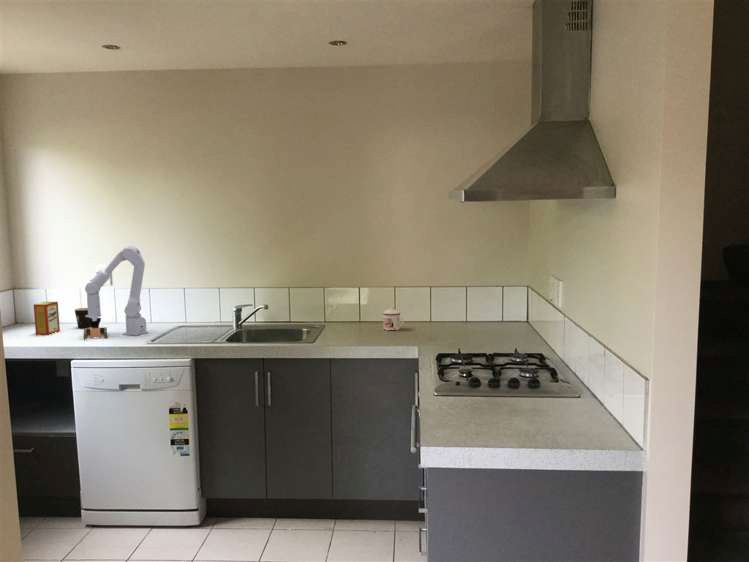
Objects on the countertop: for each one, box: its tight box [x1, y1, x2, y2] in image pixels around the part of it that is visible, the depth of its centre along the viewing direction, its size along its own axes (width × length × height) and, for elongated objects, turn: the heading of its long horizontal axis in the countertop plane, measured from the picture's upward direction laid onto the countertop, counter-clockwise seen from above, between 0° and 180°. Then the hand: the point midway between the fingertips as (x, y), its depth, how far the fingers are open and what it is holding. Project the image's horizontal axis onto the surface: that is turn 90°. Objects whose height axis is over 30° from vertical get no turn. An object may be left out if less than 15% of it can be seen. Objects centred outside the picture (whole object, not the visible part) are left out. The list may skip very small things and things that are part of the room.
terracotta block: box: [89, 327, 102, 339], centre depth 298 cm, size 4×4×4 cm
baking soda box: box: [33, 301, 61, 336], centre depth 308 cm, size 10×6×16 cm
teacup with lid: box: [382, 306, 405, 331], centre depth 310 cm, size 12×9×12 cm
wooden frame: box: [82, 327, 108, 341], centre depth 300 cm, size 14×10×3 cm
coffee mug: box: [74, 307, 92, 330], centre depth 321 cm, size 12×9×10 cm
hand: (95, 332), depth 302 cm, fingers closed
